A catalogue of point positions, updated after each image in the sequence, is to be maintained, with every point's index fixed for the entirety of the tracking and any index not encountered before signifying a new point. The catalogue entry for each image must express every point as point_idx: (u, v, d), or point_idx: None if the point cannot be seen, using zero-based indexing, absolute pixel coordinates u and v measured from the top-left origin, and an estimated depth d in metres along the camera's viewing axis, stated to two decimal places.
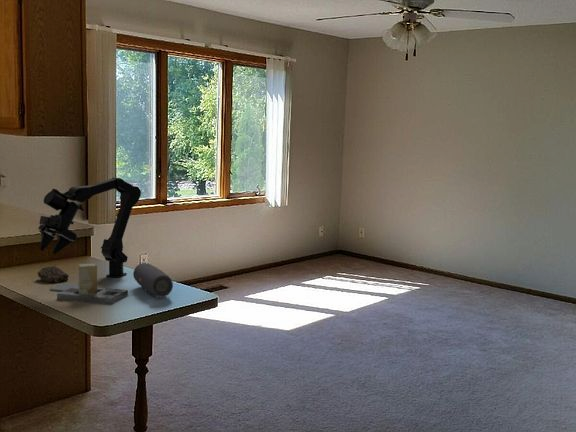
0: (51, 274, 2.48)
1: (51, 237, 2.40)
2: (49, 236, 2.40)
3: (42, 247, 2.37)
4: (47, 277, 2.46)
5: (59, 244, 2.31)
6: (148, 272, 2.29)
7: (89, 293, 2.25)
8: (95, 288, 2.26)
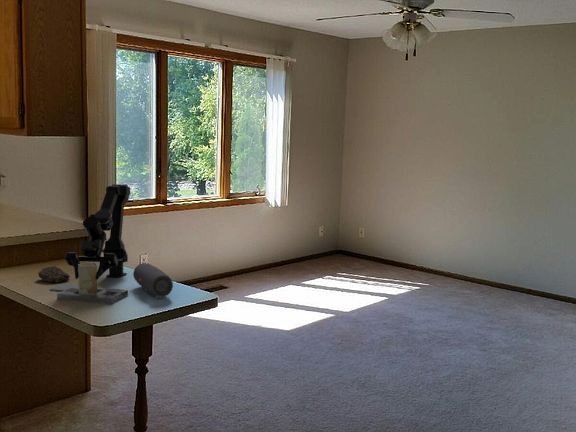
0: (52, 274, 2.47)
1: None
2: None
3: (77, 275, 2.26)
4: (48, 277, 2.46)
5: (101, 269, 2.27)
6: (148, 272, 2.29)
7: (89, 293, 2.25)
8: (95, 288, 2.26)
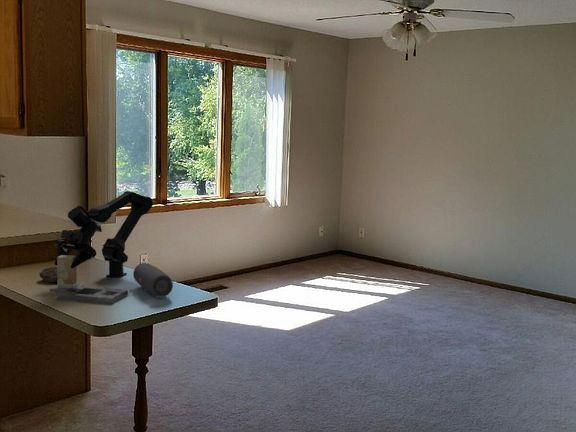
0: (53, 275, 2.47)
1: (66, 253, 2.43)
2: (64, 252, 2.42)
3: None
4: (49, 277, 2.45)
5: (78, 259, 2.35)
6: (148, 272, 2.29)
7: (65, 283, 2.36)
8: (71, 279, 2.36)
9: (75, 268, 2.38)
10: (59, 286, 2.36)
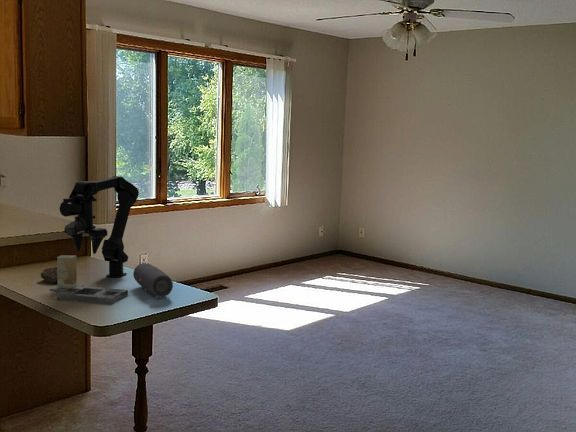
0: (55, 275, 2.46)
1: (80, 234, 2.46)
2: (78, 235, 2.46)
3: (78, 248, 2.45)
4: (51, 278, 2.45)
5: (95, 244, 2.40)
6: (148, 272, 2.29)
7: (65, 283, 2.36)
8: (71, 279, 2.36)
9: (75, 268, 2.38)
10: (59, 286, 2.36)
